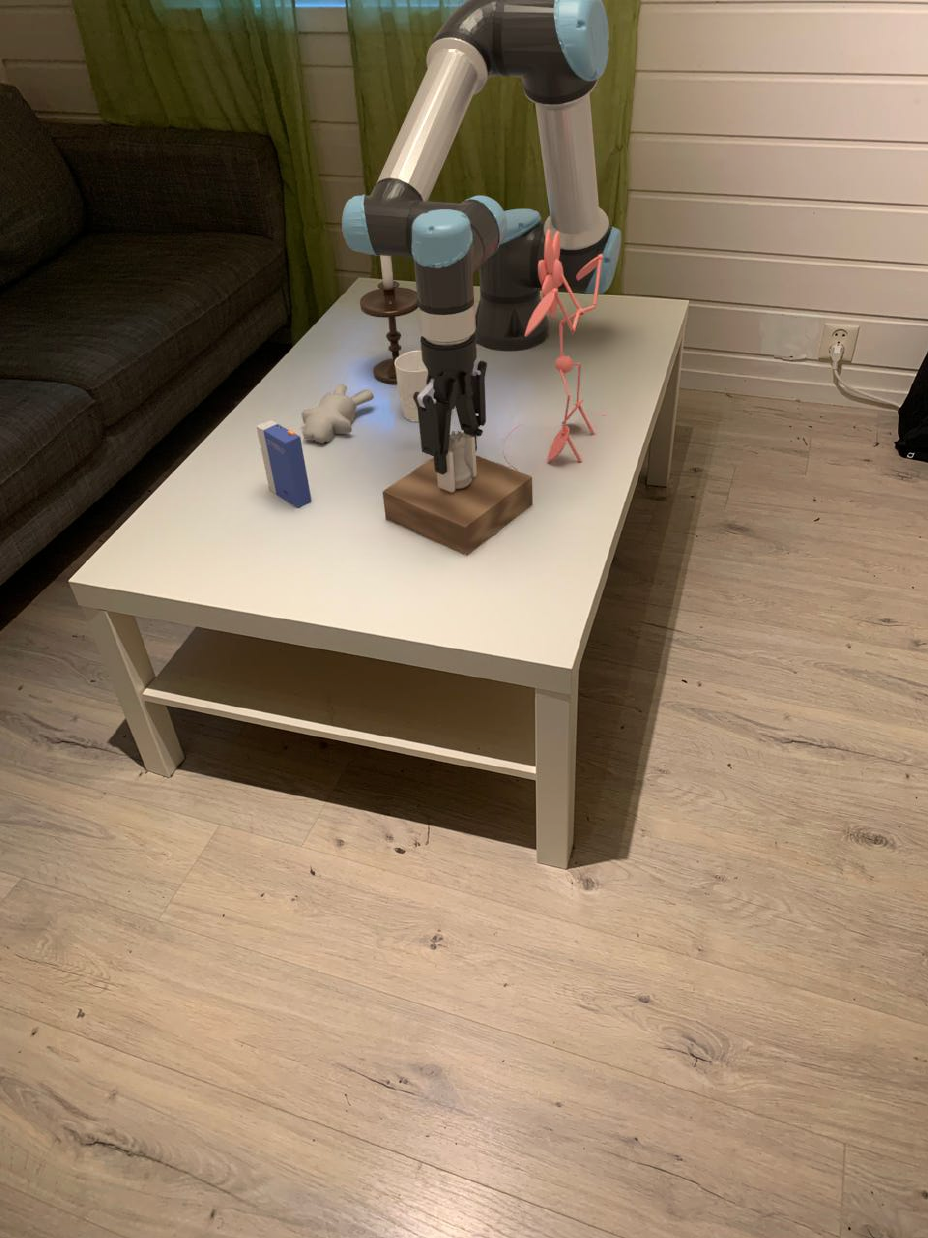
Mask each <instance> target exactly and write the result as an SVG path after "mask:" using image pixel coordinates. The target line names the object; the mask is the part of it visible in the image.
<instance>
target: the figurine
mask: <svg viewBox="0 0 928 1238" xmlns="http://www.w3.org/2000/svg"><path fill="white" fill-rule="evenodd" d="M559 255H560V232H558V231H557V232H556V233H555V235H554V238H553V242H552V236H551V231H550V229H548V231H547V233H546V237H545V245H544V260H541V261H539V264H538V275H539V279H540V282H541V285H542V288H541V300H542V301H541V302H540V303H539V304H538V306H537V307H536V309H535V310H534V312H533V314H532V316H531V318H530V320H529V322H528V325H527V329H526V332H525V337H527V336H528V335H529V334H530V333H531V332H532V331H533V330H534V329H535V328H536V327H537V326H538V325H539V324H540V322H541V321H542V320H543V318H544V317H545V316H547V314H548V312H549V317H550V319H553V320H554V318H555V316H556V312H557V308H558V306H559V308H560V310H561V313H562V314H563V317H564V318H562V319H561V320H560V323H558V330H559V331H558V332H559V336H558V337H559V357H557V359H556V361H555V368H556V370H557V371H558V372H559V374H560V377H561V379H562V382H563V384H564V385H563V386H564V390H565V391H566V394H567V400H566V407H565V413H564V419H563V421H562V422H561V424H562V425H563V427H562V428H561V429H560V430H559V431H558V432H557V433H556V435H555V436H554V438H553V441H552V442H551V445H550V449H549V452H548V455H547V460H546V462H547V463H550V462H552V461H553V460H555V459H556V458H557V457H558V456H559V455H560V454H561V452H562V451H563V449H564V447H565V445H566V444H567V443H568V444H569V446H570V448H571V451H572V453H573V454H574V455H575V457H576V459H577V461H578V463H582V461H583V460H582V458H581V457H580V454H579V452H578V451H577V448H576V447H575V445H574V443H573V441H572V440H571V437H570V427H569V426H568V425H567V421H568V420H569V419H570V417H572V415H573V414H574V413H575V411H576V410H577V409H578V411H579V413H580V414H581V417H582V419H583V420H584V422H585V424H586V426H587V428H588V431H589V432H590V433H591V435H595V430H594V429H593V427H592V425H591V423H590V421H589V419H588V416H587V415H586V413H585V411H584V409H583V408H582V406H581V405H582V404H583V402H584V401H585V400H584V399H583V398H582V399H580V398H579V395H580V384H581V383H580V381H581V374H582V373H581V370H582V363H580V362H573V359H572V358H571V357H570V356H568V355H564V353H563V350H564V349H563V348H564V347H563V346H564V345H563V343H564V342H563V341H564V339H563V338H564V336H563V335H564V333H563V332H564V330H563V329H564V328H563V326H564V323H567V326H568V328H569V329H570V332H571V334H573V335H574V334H575V331H576V328H577V325H578V322H579V318H580V317H582V316H584V314H585V313H586V312H590V311H593V310H594V309H596V307H597V302H598V295H599V294H598V288H599V281H600V273H601V265H602V259H603V258H604V257H603V255H602V254H600V255H598V257H596V258H595V259H593V260H591V261H590V262H589V263H588V264H587V265H585V266H584V267H583V268H582V269H581V270H580V271H579V272H578V274H577V275H576V279H577V280H578V281H579V280H580V279H581V278H583V277H584V276H586V275H587V274H588V273H590V272H591V271H592V270H593V269H594V268H595V267H597V266H598V269H597V277H596V285H595V293H594V294H593V301H592V305H591V306H588V307H585V308H582V307H581V306H580V303H579V301H578V300H577V298H576V296H575V295H574V292H572V291H571V289H570V287H569V285H568V283H567V281H566V279H565V277H564V275H563V267H562V264H561V262H560V261H559ZM562 283H564V285H565V287H566V289H567V291H568V292H567V291H566V292H567V293H568V294H569V296H570V298H571V300H572V302H573V303H574V305H575V307H576V309H577V311H576V312H575V313H573V314H572V315H568V312H567V310H566V309H565V306H564V304H563V302H562V300H561V298H560V296H559V290H558V287H559V286H561V285H562ZM572 319H574V320H573V323H572V322H571V321H572ZM573 366H578V368H577V369H578V372H577V388H576V400H575V401H576V402H575V404H574V408H573V409H572V410H571V411H570V412H569V407H570V400H571V393H570V390H569V388H568V384H567V381H566V379H565V376H564V374H566V373H569V372H570V371H571V370H572V369H573ZM579 399H580V401H579ZM597 415H599V416H603V417H607V415H605V414H601V413H597ZM520 426H522V424H520V425H518V426H517V427H515V428H514V429H513V430H512V432H514V431H515V430H516V429H518V428H519V427H520ZM509 435H510V434H508V435H507V436H506V438H505V440H504V438H502V440H501V441H503V440H504V441H503V445H502V446H503V447H504V445H505V441H506V440H507V438H508V437H509ZM504 452H505V451H503V454H504ZM500 456H501V458H502V460H504V459H503V456H502V455H500ZM504 458H505V460H506V462H507V463H508V464H509V465H511V463H510V462H509V461H508V460H507V457H506V456H505V455H504ZM511 467H512V469H513V470H516V471H517V468H515V467H513V465H511Z"/></svg>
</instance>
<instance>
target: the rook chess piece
mask: <svg viewBox="0 0 928 1238" xmlns="http://www.w3.org/2000/svg"><path fill="white" fill-rule="evenodd" d="M461 432H462V431H457V433H456V431H455V430H452V431H451V433H450V439H449V450H448V451H451V452H453V465H454V480H455V489H462V488H465V487H467V486H468V485H469V484H470V483H471V481H472V477H471V471H470V469H469V468H468V466H467V465H466V463H465V458H464V452H465V448H464V447H463V445H464V444H465V443H466V439H465V438H464V437H463V433H464V432H463V433H462V434H461Z"/></svg>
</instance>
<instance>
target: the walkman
mask: <svg viewBox="0 0 928 1238" xmlns="http://www.w3.org/2000/svg"><path fill="white" fill-rule="evenodd" d="M256 430H257V436H258V439H259V445H260V453H261V456H262V461H263V462H262V463H263V466H264V470H265V476H266V481H267V485H268V489H269V491H270V492H272V493H274V494H275V495H277V496H278V497H280V498H281V499H283V500H285V501H286V502H288V503H289V504H290V505H292V506H294V507H295V508H298V509H299V508H301V507H303V506H305V505H307V504H308V503H310V502H312V495H311V489H310V485H309V479H308V474H307V473H308V472H307V467H306V462H305V456H304V450H303V444H302V440H301V436H300V435H298V434H297V433H296V432H295V431H293V430H291V429H289V428H286V427H285V426H283V425H281V424H279V423H277V422H275V421H273V420H272V419H270V420H268V421H265V422H262V423H259V424H257V425H256Z"/></svg>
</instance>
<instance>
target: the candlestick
mask: <svg viewBox="0 0 928 1238" xmlns="http://www.w3.org/2000/svg"><path fill="white" fill-rule="evenodd" d="M379 258H380V267H381V275H382V276H381V277H382V281H381V282H380V283H378V284H377V289H374V290H371V291H369V292H367V293H365V294H364V295H363V296H361V298H360V300H359V306H360V311H361V312H362V313H363V314H365V315H367V316H370V317H374V318H381V319H382V318H384V319H385V318H386V319H388V330H389V331H388V332H386V335H385V337H386V339H387V341H388V342H389V344H390V345H389V346H388V351H390V352H391V358H388V359H387V358H386V359H385V360H384V359H383V360H382V361H380V362H379V363H377V364H375V366H374V367H373V369H372V371H373V372H372V373H373V377H374V379H375V380H376V381H378V382H379V383H382V384H387V385H398V383H397V377H396V370H395V360H396V358H397V357H399V356H400V351H401V350H402V345H401V344H399V341H400V340H401V337H402V333H401V331H398V330H397V320H396V318H397V317H398V318H399V317H402V316H406V315H409V314H411V313H414V311H416V310H418V304H417V290H414V289H411V288H408V287H407V288H406V287H400V283H399V282H398V281H395V280H394V273H393V265H392V256H382V255H379Z"/></svg>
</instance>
